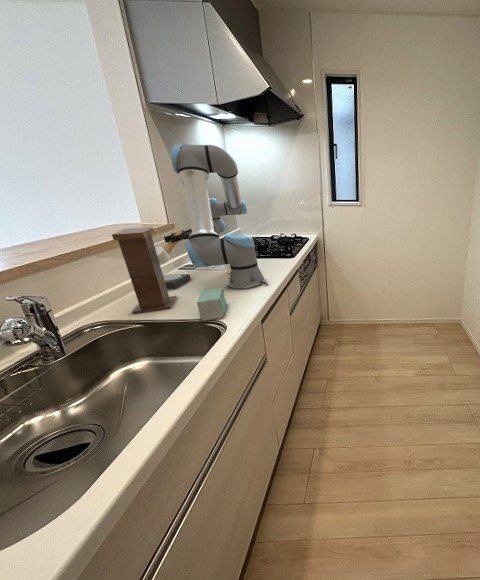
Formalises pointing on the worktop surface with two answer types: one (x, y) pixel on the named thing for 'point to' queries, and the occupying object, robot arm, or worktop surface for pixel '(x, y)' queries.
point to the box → (211, 304)
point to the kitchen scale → (176, 280)
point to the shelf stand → (144, 269)
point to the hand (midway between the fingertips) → (168, 239)
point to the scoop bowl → (166, 250)
